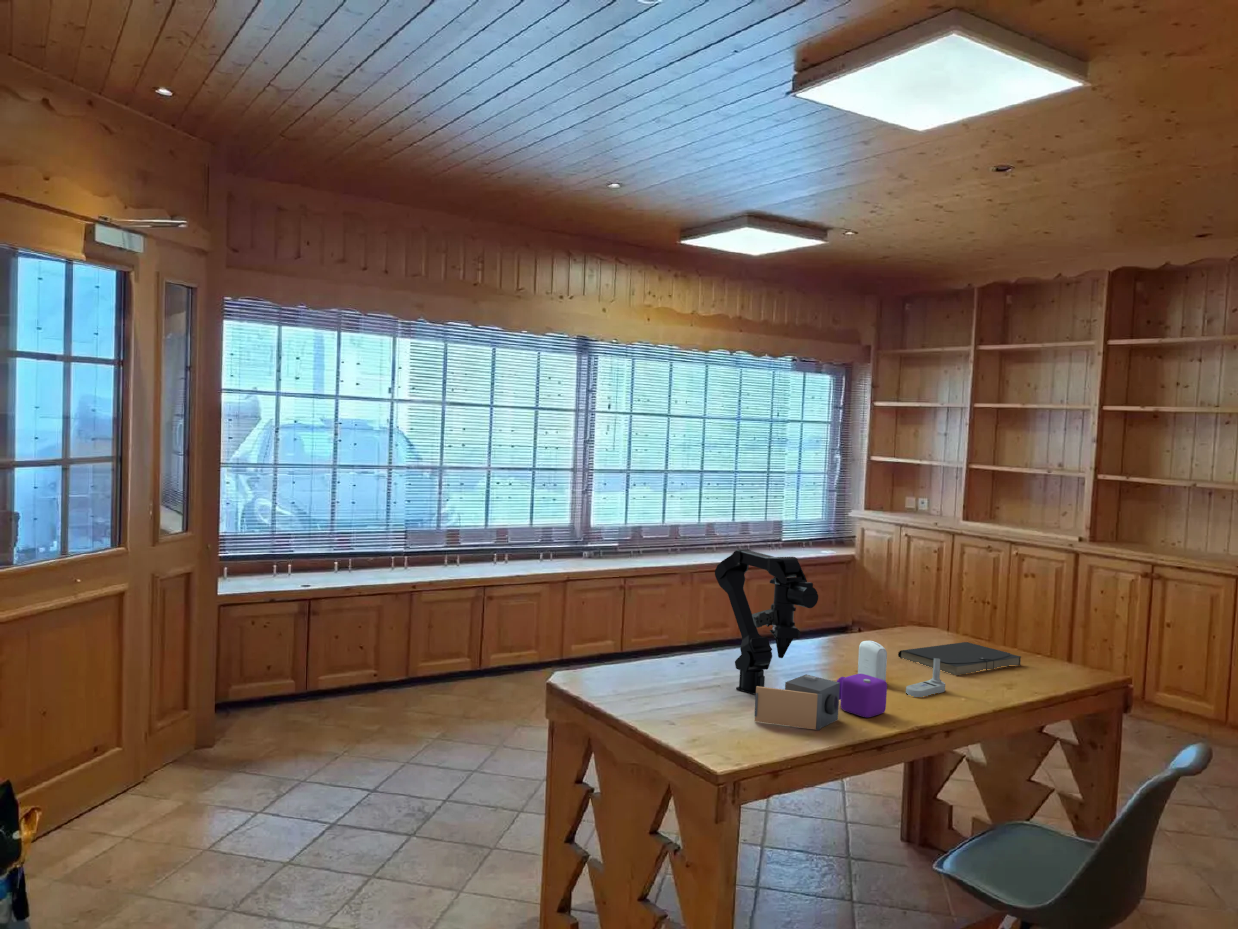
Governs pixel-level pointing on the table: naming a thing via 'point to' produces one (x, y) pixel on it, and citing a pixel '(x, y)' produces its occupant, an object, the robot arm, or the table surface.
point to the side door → (788, 707)
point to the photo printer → (872, 659)
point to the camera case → (819, 687)
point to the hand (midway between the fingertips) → (780, 657)
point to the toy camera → (863, 695)
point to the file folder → (961, 657)
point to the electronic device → (928, 684)
